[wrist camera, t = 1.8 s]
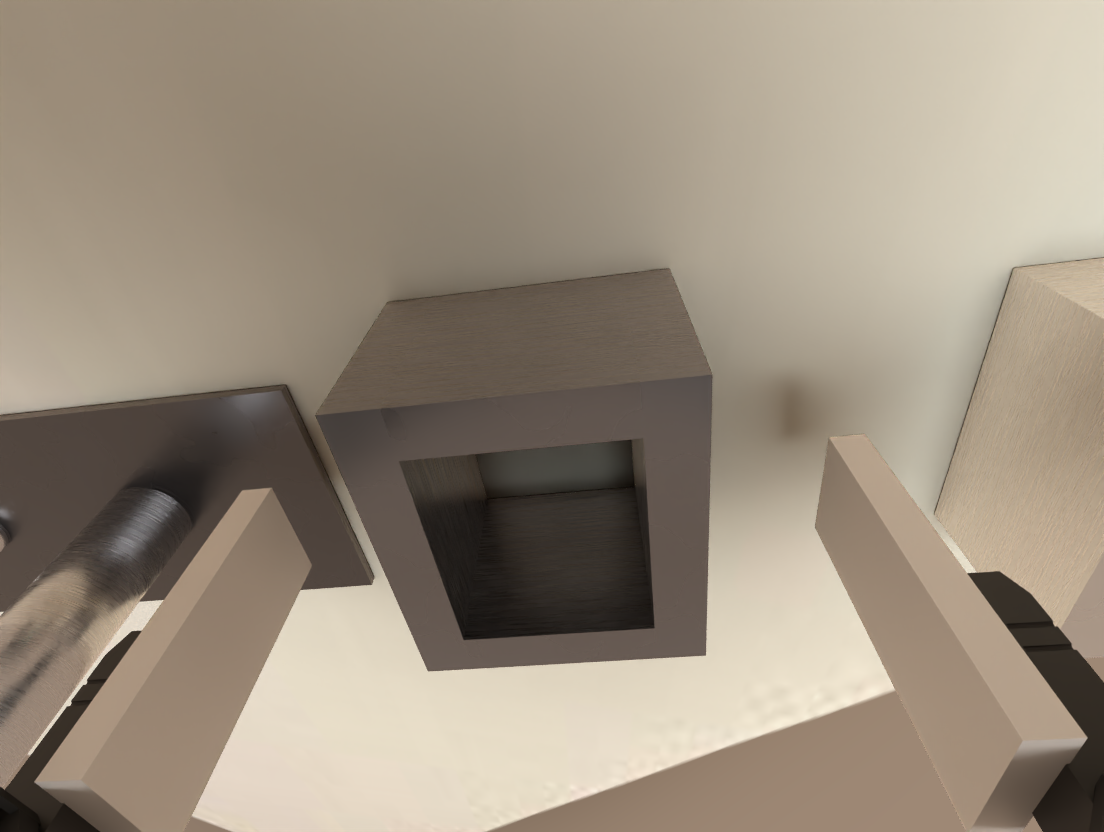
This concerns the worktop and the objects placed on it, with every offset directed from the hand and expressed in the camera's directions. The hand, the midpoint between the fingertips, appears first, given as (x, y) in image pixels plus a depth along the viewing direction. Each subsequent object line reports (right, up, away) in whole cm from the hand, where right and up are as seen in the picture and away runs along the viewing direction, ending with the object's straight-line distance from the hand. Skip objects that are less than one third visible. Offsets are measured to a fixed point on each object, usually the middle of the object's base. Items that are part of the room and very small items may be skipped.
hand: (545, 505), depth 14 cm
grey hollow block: (0, +2, +2) cm, 3 cm away
